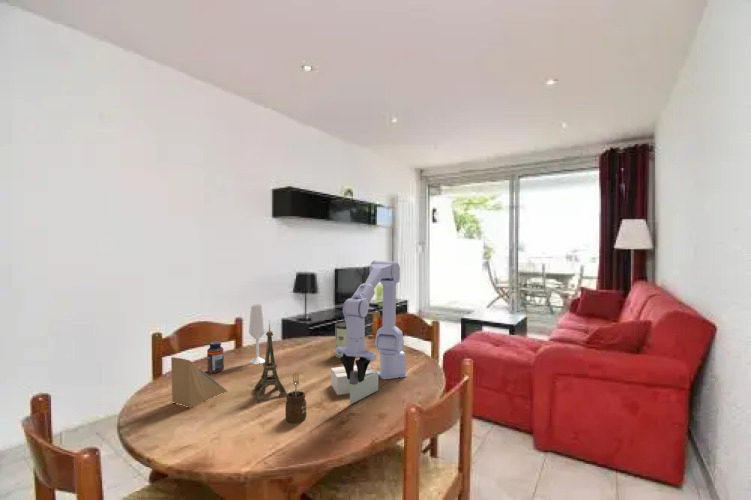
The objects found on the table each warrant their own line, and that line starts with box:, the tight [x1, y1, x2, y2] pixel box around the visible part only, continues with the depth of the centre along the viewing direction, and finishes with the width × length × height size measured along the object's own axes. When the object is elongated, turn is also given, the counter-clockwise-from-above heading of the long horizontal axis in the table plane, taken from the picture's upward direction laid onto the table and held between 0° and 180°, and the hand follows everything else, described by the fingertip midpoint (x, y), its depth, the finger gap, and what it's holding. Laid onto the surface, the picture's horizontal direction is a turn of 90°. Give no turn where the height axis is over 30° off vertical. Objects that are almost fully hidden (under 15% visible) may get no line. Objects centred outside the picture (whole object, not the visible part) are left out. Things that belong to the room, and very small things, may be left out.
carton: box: [330, 364, 377, 396], centre depth 134 cm, size 14×10×6 cm
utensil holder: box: [284, 373, 307, 423], centre depth 110 cm, size 6×6×12 cm
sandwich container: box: [170, 356, 228, 408], centre depth 126 cm, size 9×15×15 cm, turn 154°
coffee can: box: [334, 321, 347, 359], centre depth 171 cm, size 10×10×14 cm
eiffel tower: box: [251, 319, 289, 403], centre depth 128 cm, size 11×11×25 cm
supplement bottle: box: [206, 340, 225, 373], centre depth 151 cm, size 6×6×11 cm
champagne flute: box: [248, 303, 267, 365], centre depth 162 cm, size 7×7×24 cm
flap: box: [349, 371, 379, 405], centre depth 125 cm, size 14×3×10 cm, turn 143°
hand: (355, 379), depth 120 cm, fingers open, 4 cm apart
